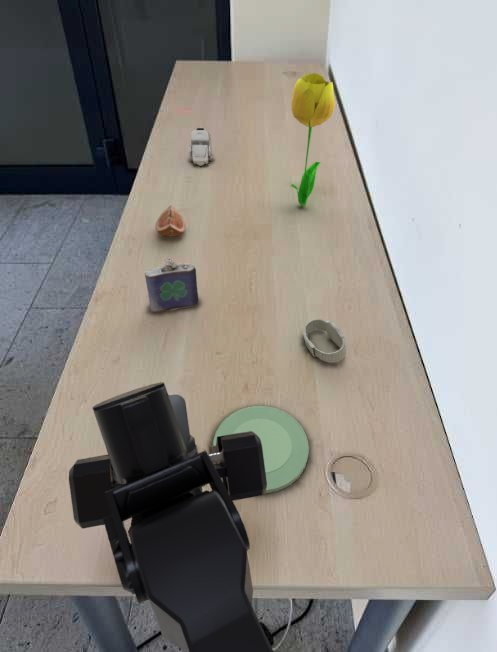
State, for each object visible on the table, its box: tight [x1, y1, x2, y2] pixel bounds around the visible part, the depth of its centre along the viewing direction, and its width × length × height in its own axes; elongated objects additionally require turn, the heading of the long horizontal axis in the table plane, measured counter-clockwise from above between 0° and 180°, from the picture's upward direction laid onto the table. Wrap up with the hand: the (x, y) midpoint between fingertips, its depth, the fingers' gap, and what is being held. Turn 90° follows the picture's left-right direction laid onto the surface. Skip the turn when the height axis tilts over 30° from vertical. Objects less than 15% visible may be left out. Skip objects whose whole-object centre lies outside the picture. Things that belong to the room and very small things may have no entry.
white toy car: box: [188, 127, 213, 167], centre depth 133 cm, size 6×7×10 cm
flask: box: [144, 257, 199, 314], centre depth 90 cm, size 9×3×11 cm, turn 105°
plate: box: [212, 405, 310, 494], centre depth 71 cm, size 14×14×1 cm
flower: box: [290, 72, 336, 209], centre depth 109 cm, size 9×8×30 cm
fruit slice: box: [155, 205, 187, 237], centre depth 109 cm, size 8×7×5 cm
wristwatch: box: [302, 318, 347, 363], centre depth 84 cm, size 9×6×5 cm
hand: (171, 456), depth 56 cm, fingers open, 9 cm apart
